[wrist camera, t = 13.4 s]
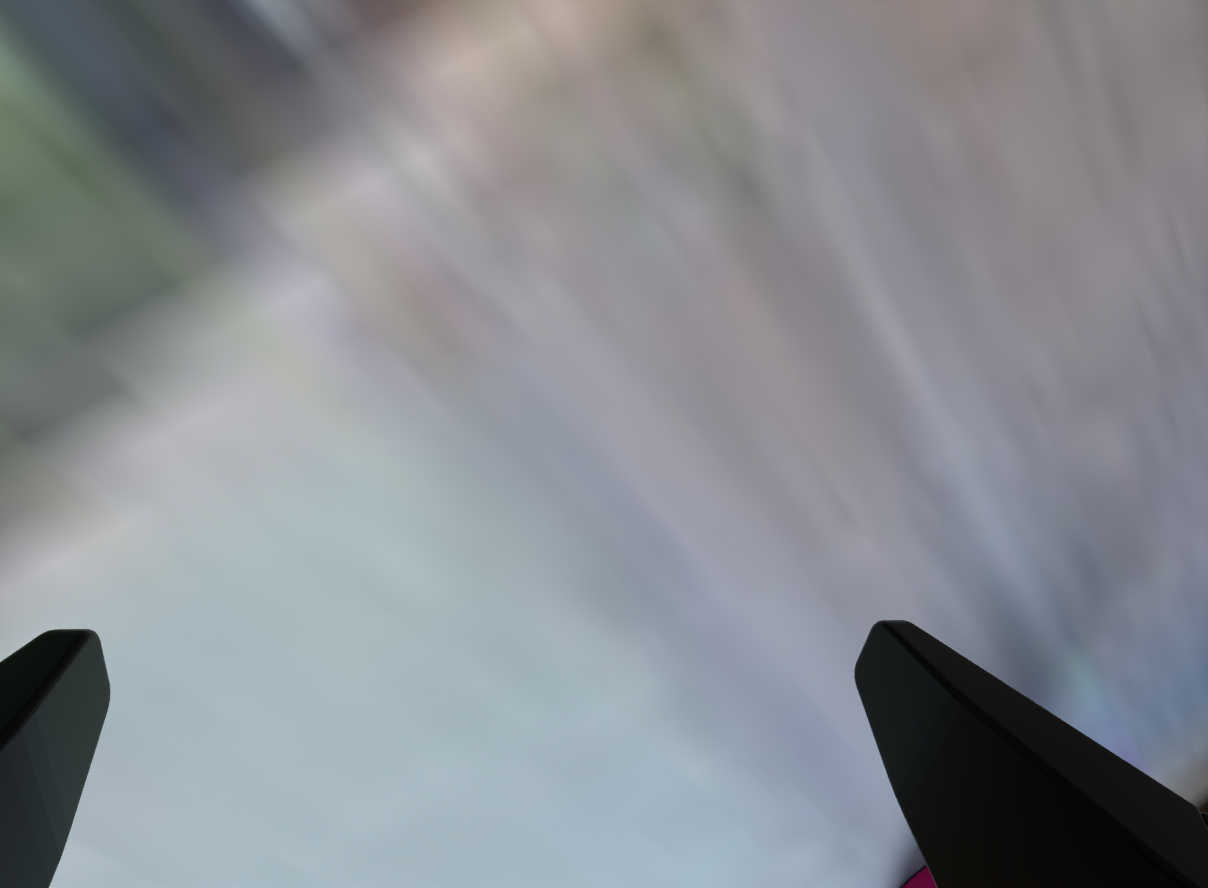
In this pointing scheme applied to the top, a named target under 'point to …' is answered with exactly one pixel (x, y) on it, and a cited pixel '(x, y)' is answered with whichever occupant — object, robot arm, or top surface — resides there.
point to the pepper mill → (921, 880)
